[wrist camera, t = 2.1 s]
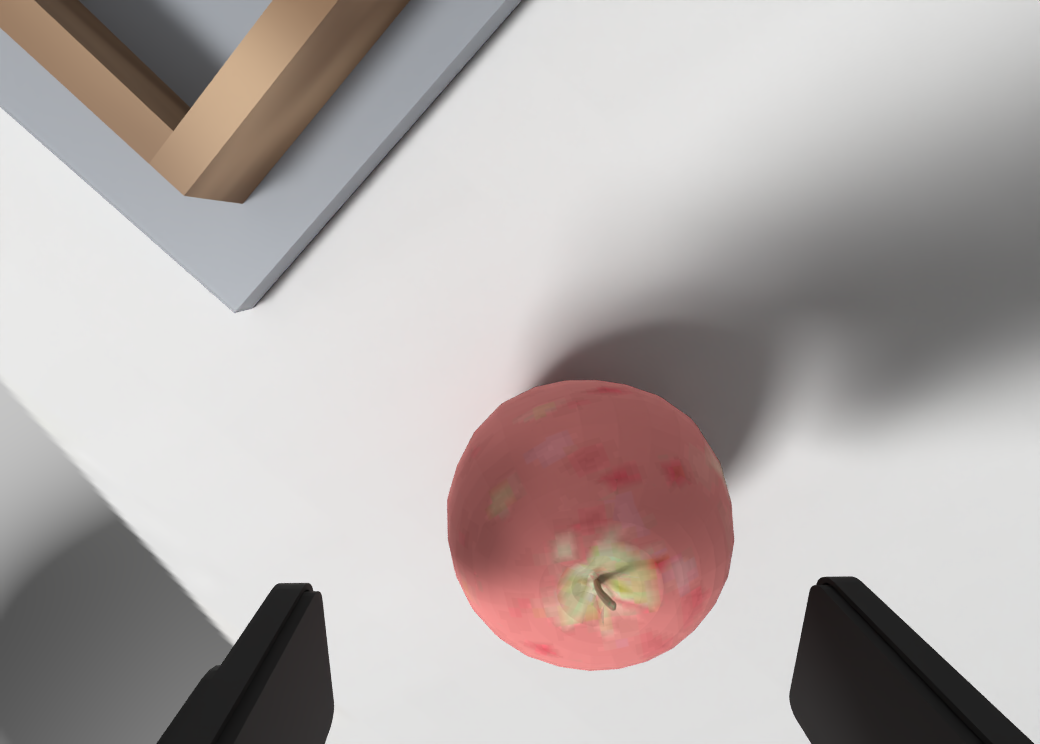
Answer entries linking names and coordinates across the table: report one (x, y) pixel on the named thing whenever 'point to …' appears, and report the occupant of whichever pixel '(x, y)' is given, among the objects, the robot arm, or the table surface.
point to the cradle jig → (231, 111)
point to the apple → (590, 524)
